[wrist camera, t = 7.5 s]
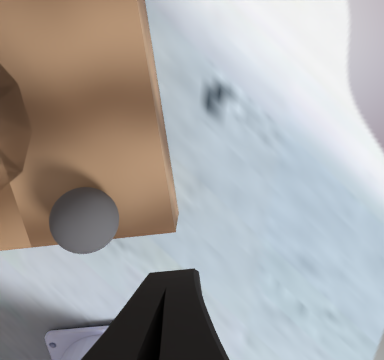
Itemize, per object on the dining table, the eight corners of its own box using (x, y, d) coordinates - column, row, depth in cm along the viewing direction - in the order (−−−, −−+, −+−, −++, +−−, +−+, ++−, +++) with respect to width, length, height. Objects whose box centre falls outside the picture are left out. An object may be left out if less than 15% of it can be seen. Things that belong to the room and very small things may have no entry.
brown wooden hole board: (178, 213, 19) (175, 232, 16) (-60, 239, 20) (-96, 260, 17) (140, -26, 15) (129, -47, 12) (-156, 22, 16) (-219, 12, 13)
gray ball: (131, 230, 16) (115, 264, 13) (74, 236, 17) (47, 270, 14) (119, 174, 15) (99, 198, 12) (59, 182, 16) (25, 206, 13)
